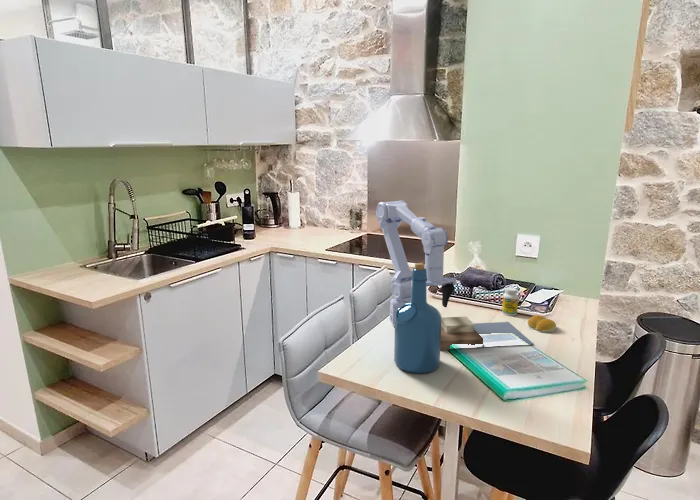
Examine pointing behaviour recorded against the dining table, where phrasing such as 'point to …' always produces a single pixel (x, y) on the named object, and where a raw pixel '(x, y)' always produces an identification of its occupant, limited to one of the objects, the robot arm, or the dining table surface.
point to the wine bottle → (418, 329)
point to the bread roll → (541, 324)
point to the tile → (457, 324)
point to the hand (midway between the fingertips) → (433, 307)
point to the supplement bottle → (510, 302)
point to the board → (459, 339)
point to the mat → (499, 329)
